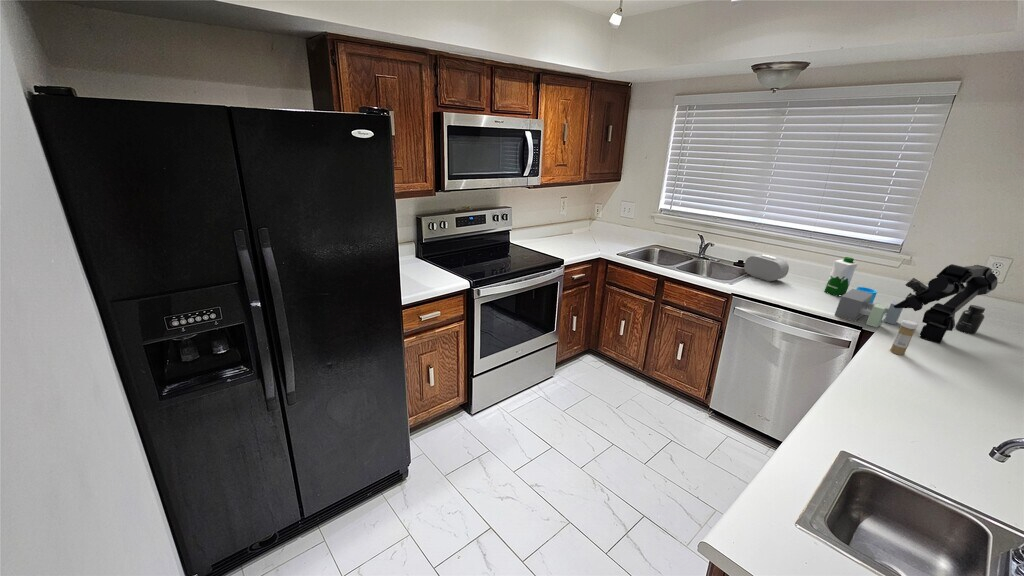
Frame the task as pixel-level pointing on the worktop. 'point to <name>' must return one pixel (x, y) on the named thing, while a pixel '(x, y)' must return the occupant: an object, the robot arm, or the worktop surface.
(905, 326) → the sprinkles bottle
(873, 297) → the mug
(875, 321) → the green key
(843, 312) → the grey curved block
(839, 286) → the milk carton
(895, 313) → the grey key
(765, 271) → the grey rounded oblong block
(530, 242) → the worktop surface
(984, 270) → the robot arm
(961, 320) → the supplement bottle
